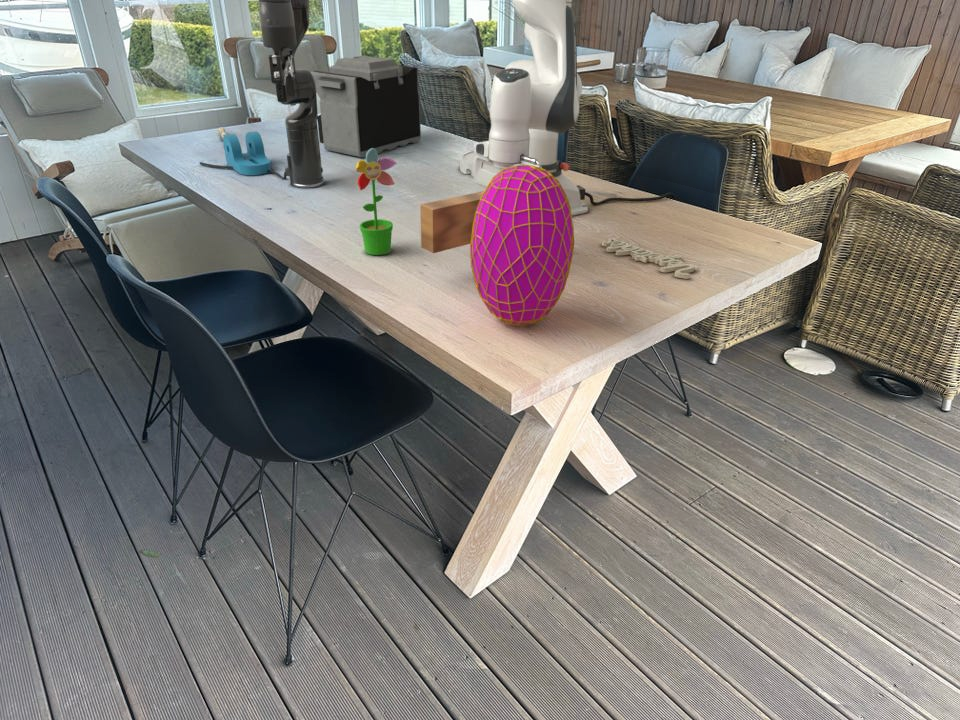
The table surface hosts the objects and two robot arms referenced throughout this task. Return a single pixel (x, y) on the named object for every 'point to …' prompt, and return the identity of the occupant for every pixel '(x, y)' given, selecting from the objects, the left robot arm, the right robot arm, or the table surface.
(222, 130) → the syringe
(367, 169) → the potted flower
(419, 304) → the table surface
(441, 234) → the bar
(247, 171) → the camera mount
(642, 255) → the decorative sign
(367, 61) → the electronic device
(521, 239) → the decorative egg
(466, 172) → the ashtray
